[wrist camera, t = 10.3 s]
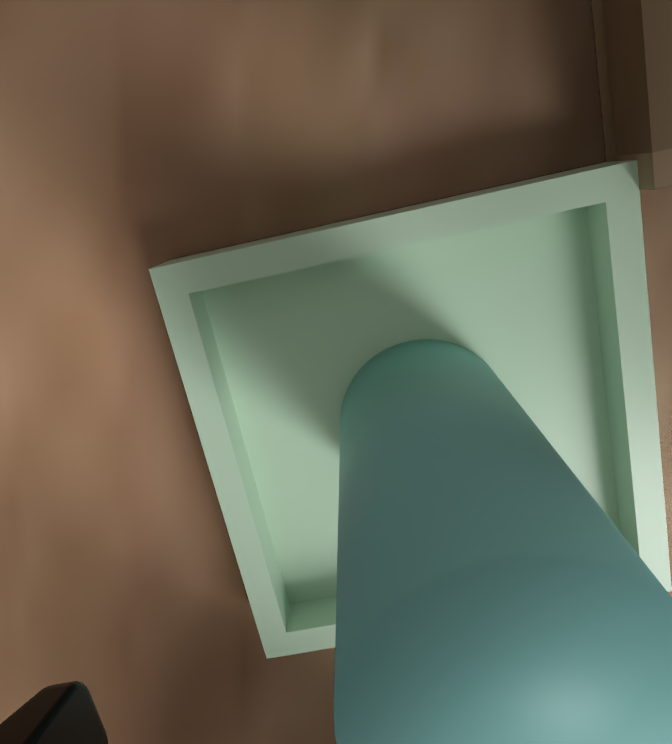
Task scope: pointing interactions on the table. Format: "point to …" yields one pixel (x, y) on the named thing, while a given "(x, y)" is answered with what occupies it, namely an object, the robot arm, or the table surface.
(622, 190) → the tray
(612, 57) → the tray
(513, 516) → the peg
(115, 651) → the table surface
